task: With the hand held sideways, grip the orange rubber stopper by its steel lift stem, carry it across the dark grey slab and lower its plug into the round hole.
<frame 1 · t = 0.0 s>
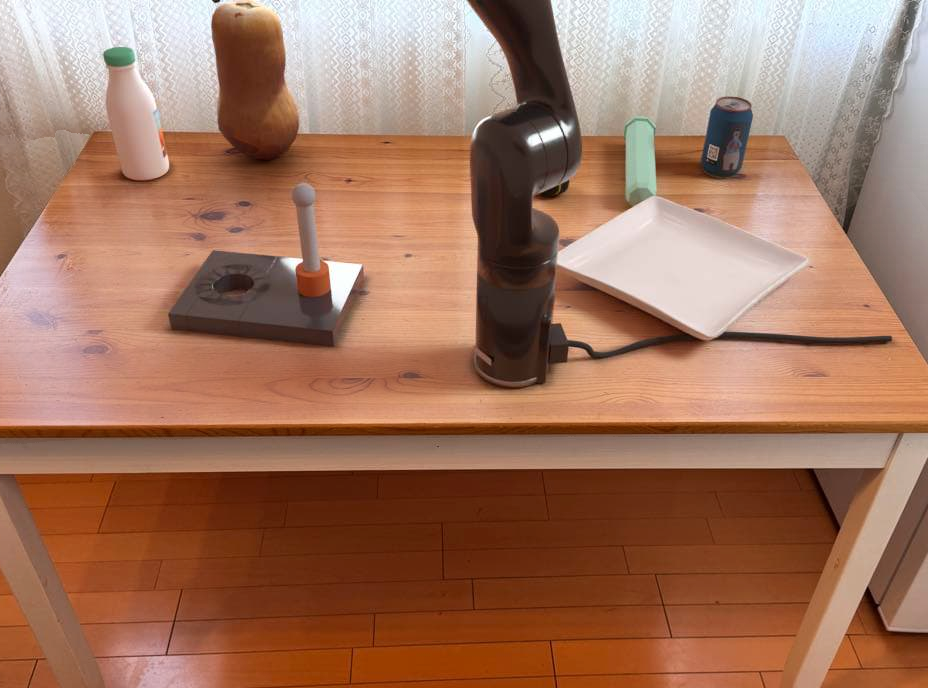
square plate: (676, 280, 131), on the table
soda can: (719, 171, 157), on the table
stopper: (314, 288, 123), point 2 cm above the table, touching dark grey slab
milk bottle: (146, 172, 153), on the table
dark grey slab: (271, 303, 124), on the table
butternut squash: (263, 154, 159), on the table
container: (637, 178, 155), on the table
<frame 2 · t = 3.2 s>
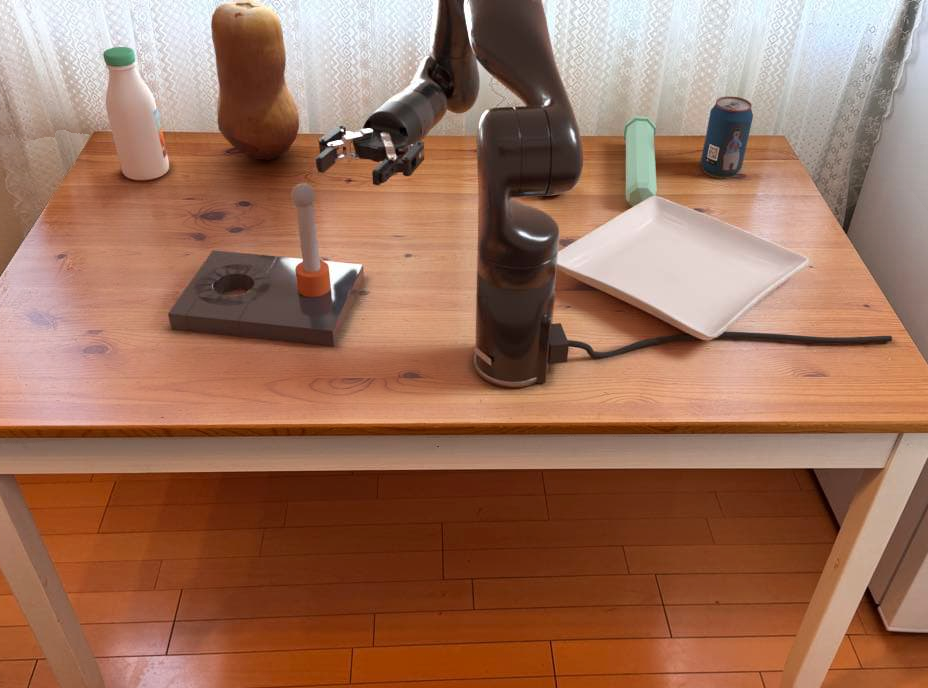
hand: (346, 172, 123), 14 cm above the table, tool horizontal, fingers open, 8 cm apart
nothing on the table moved.
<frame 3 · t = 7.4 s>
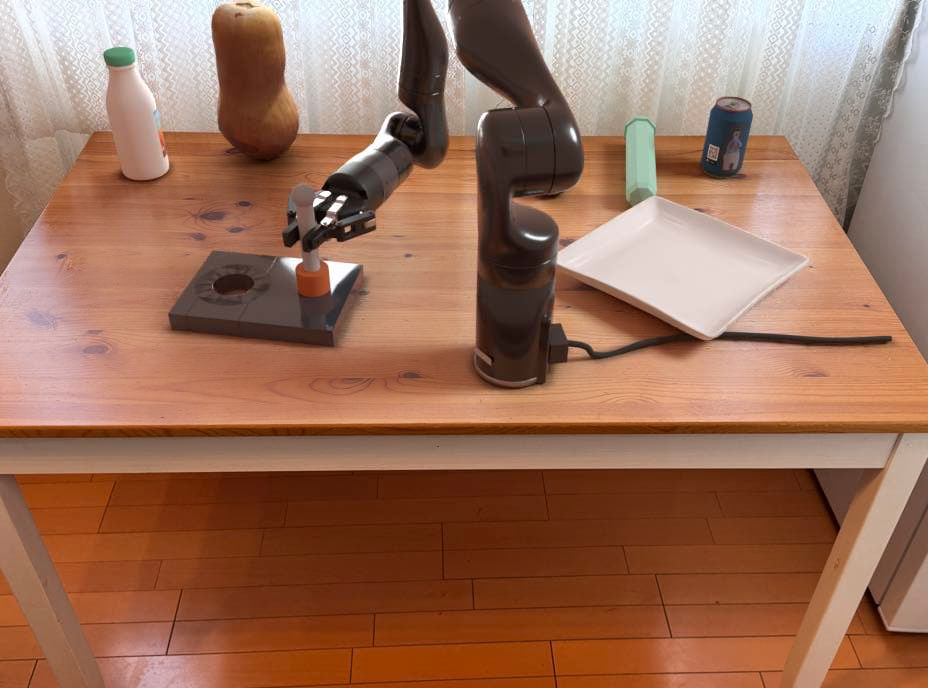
hand: (295, 243, 115), 11 cm above the table, tool horizontal, fingers closed on stopper, 2 cm apart
stopper: (314, 288, 123), point 3 cm above the table, touching gripper, dark grey slab
everything else where it was.
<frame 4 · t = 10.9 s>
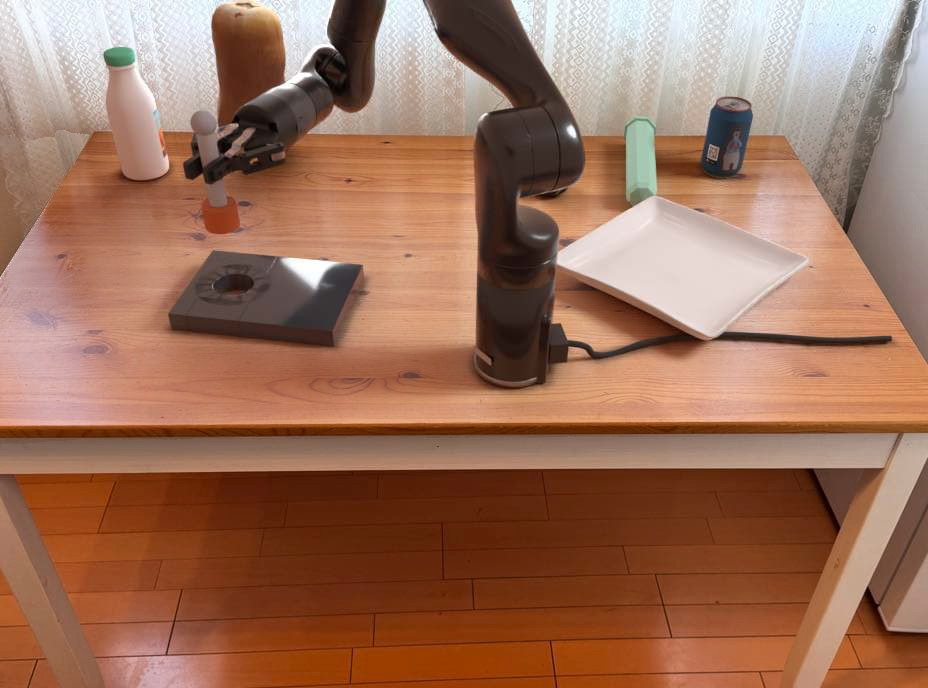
hand: (196, 174, 110), 20 cm above the table, tool horizontal, fingers closed on stopper
stopper: (222, 225, 117), point 11 cm above the table, touching gripper
everything else where it was.
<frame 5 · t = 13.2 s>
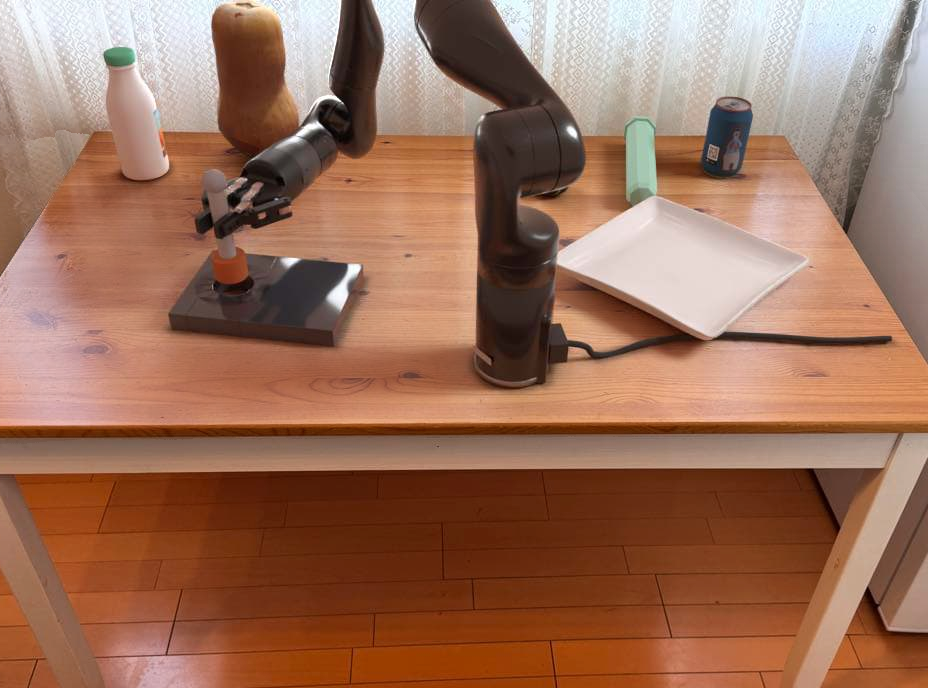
hand: (207, 229, 115), 12 cm above the table, tool horizontal, fingers closed on stopper, 2 cm apart
stopper: (231, 275, 122), point 4 cm above the table, touching gripper
everything else where it was.
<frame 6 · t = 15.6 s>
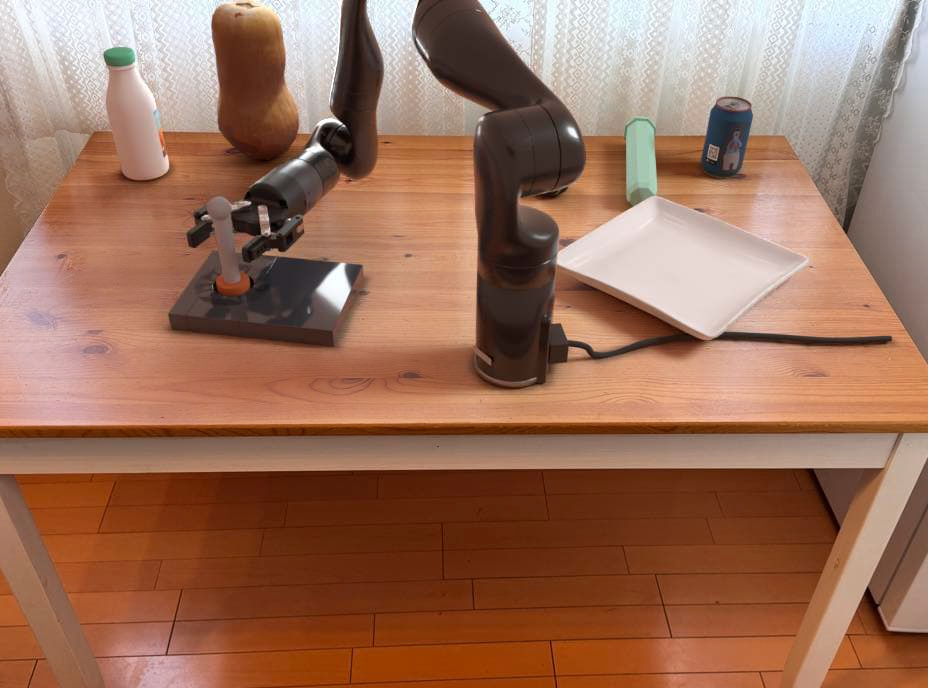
hand: (217, 249, 118), 9 cm above the table, tool horizontal, fingers open, 8 cm apart
stopper: (236, 299, 125), resting in dark grey slab
everything else where it was.
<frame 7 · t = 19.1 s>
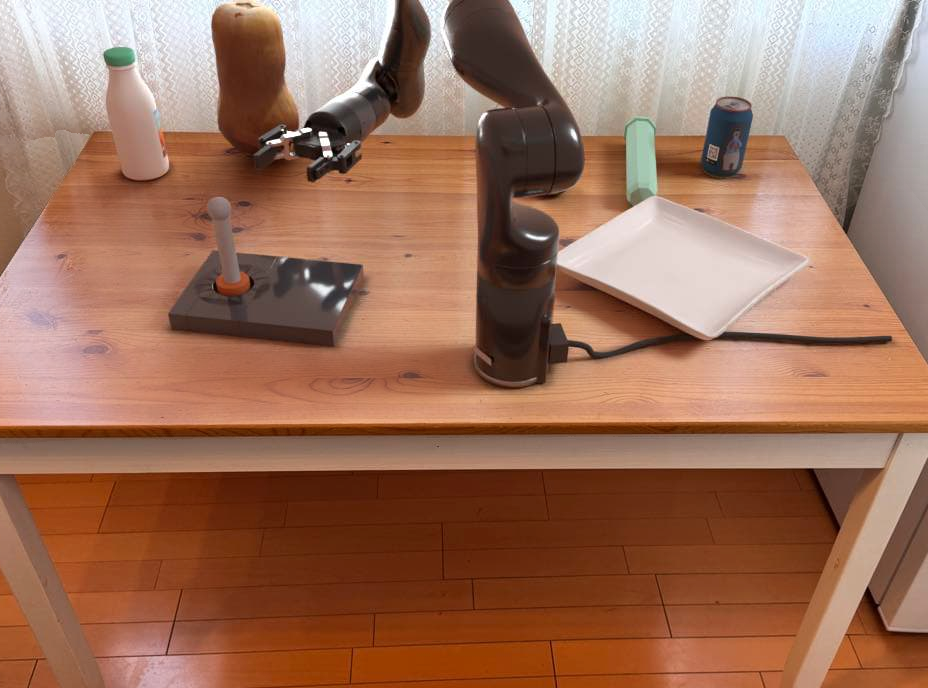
hand: (282, 169, 126), 13 cm above the table, tool horizontal, fingers open, 8 cm apart
nothing on the table moved.
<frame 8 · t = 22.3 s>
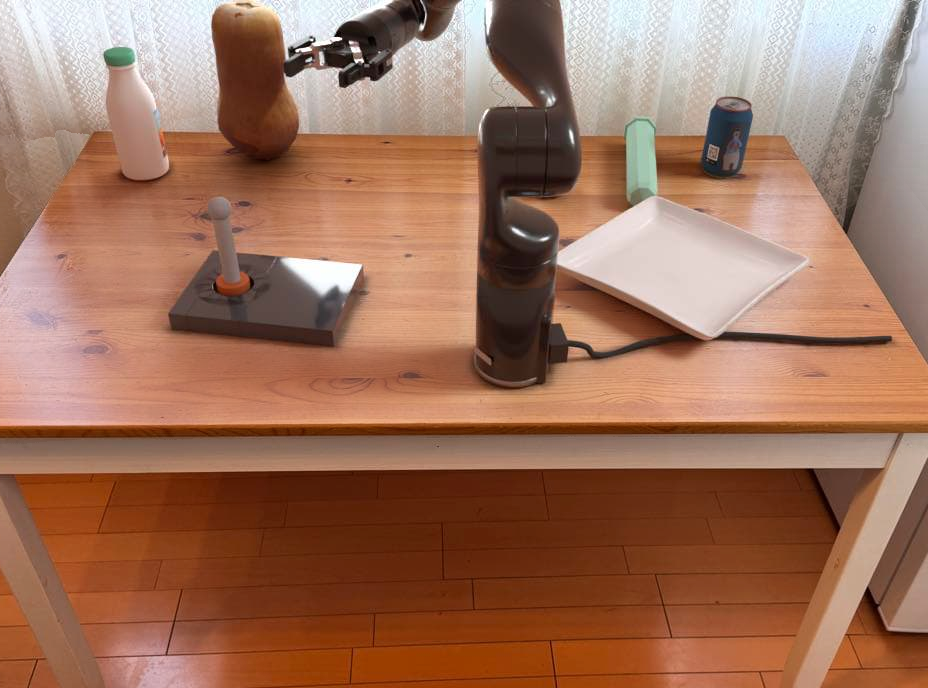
hand: (313, 75, 123), 24 cm above the table, tool horizontal, fingers open, 8 cm apart
nothing on the table moved.
at the end: stopper 0.1 cm from the target spot in the dark grey slab, point 0.0 cm above the dark grey slab's base; stopper tilted 0°; the gripper is holding nothing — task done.
